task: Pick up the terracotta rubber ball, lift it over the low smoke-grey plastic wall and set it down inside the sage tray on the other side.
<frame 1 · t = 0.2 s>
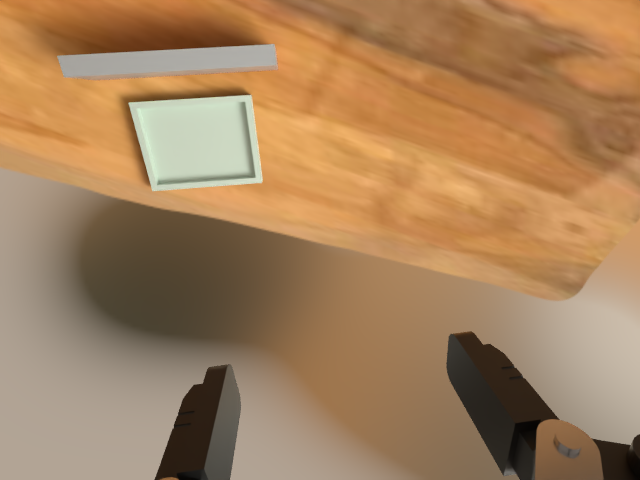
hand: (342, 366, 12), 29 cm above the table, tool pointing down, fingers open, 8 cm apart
sage tray: (202, 143, 35), on the table
low wall: (186, 65, 32), on the table
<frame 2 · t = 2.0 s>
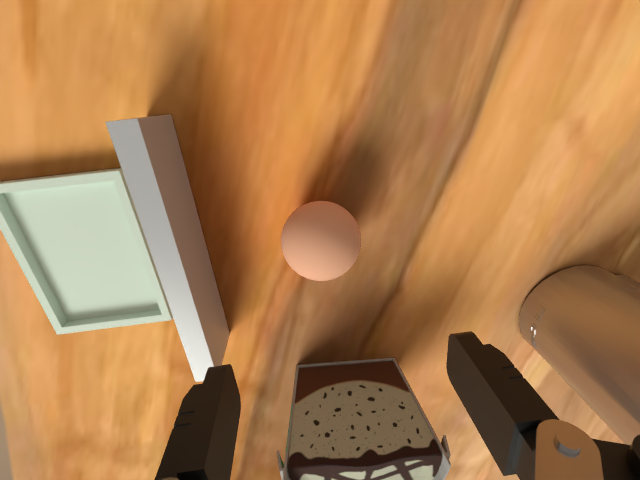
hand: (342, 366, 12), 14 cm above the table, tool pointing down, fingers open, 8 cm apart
sage tray: (94, 253, 24), on the table
ball: (318, 226, 25), on the table
low wall: (194, 241, 25), on the table
food container: (345, 383, 32), on the table
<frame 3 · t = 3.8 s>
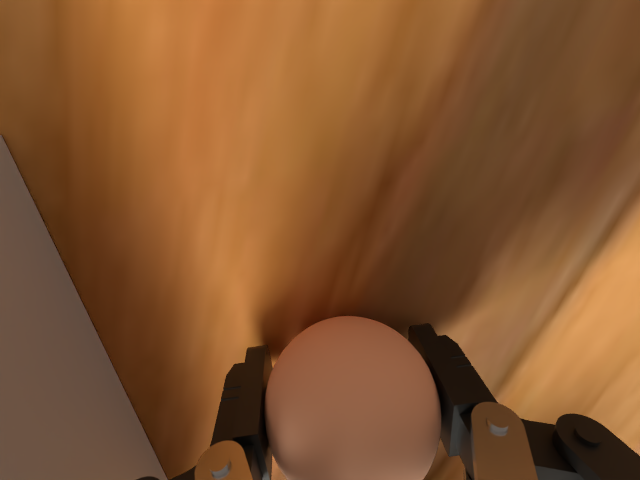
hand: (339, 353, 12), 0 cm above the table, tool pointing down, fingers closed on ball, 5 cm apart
ball: (338, 344, 13), on the table, touching gripper
low wall: (96, 378, 13), on the table
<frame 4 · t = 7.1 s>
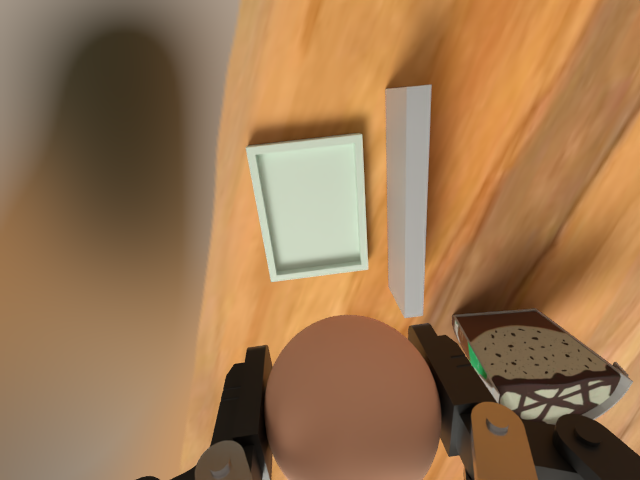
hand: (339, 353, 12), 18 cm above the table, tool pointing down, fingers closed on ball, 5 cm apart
sage tray: (312, 209, 28), on the table
ball: (338, 343, 13), point 17 cm above the table, touching gripper
low wall: (396, 199, 29), on the table
food container: (488, 333, 36), on the table
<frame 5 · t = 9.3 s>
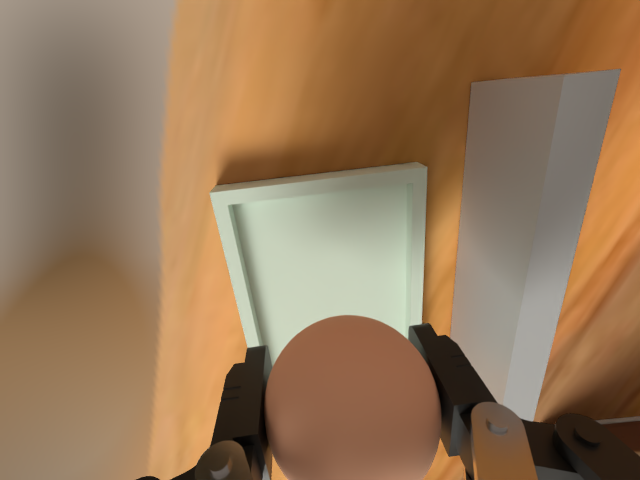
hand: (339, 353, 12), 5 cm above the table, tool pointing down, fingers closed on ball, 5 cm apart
sage tray: (329, 288, 17), on the table
ball: (338, 343, 13), point 4 cm above the table, touching gripper
low wall: (470, 269, 17), on the table
food container: (583, 445, 25), on the table
when the fingers open (2 cm above the table, at t = 10.8 s): ball drops 2 cm, resting on sage tray.
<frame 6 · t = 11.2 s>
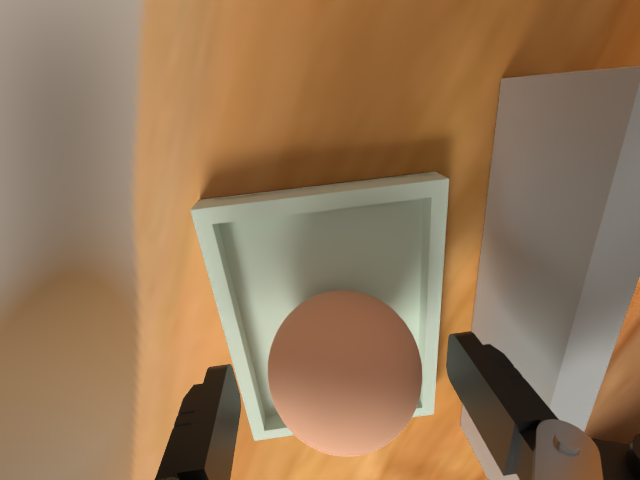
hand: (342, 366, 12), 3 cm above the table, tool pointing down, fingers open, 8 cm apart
sage tray: (332, 314, 15), on the table
ball: (334, 319, 14), resting on sage tray
low wall: (492, 292, 15), on the table
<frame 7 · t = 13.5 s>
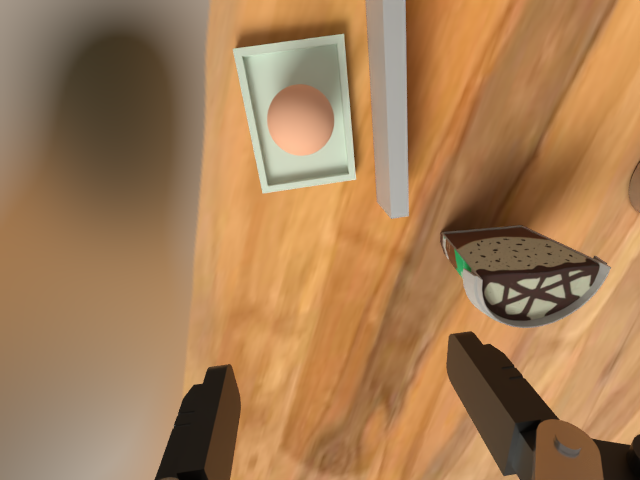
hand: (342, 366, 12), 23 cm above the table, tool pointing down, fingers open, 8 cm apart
sage tray: (299, 119, 30), on the table
ball: (300, 119, 29), resting on sage tray
low wall: (380, 107, 30), on the table
food container: (476, 252, 37), on the table
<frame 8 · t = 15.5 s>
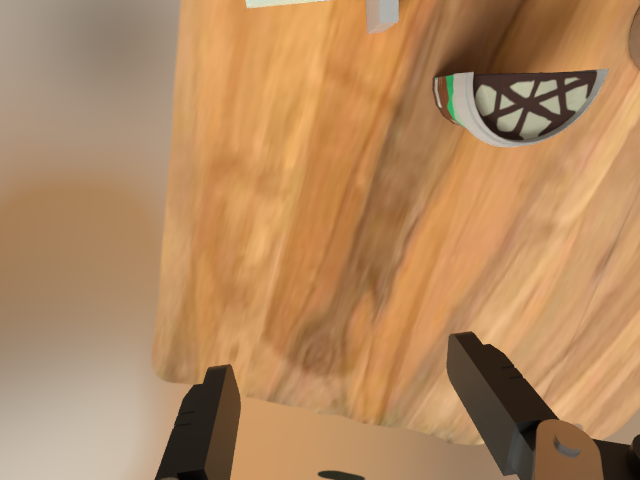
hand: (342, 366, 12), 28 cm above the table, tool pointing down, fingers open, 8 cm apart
food container: (469, 108, 36), on the table
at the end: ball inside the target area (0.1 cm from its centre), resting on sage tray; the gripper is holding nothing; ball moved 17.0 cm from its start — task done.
